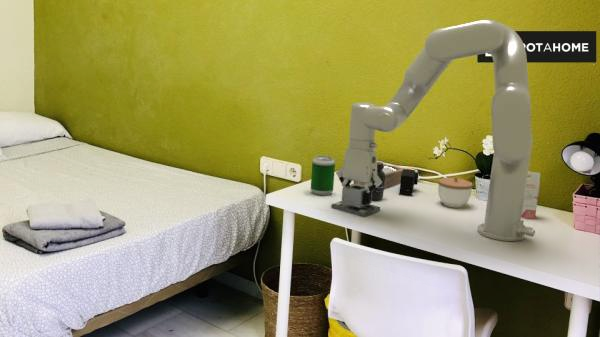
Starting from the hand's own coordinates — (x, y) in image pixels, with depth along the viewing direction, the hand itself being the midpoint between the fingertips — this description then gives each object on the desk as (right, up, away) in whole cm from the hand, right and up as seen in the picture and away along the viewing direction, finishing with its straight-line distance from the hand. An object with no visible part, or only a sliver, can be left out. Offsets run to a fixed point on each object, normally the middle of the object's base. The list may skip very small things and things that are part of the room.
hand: (356, 201), depth 185 cm
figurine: (+13, +4, +34) cm, 37 cm away
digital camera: (+20, +2, +24) cm, 32 cm away
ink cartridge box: (+52, -5, +5) cm, 52 cm away
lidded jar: (+33, -2, +12) cm, 35 cm away
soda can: (-10, +2, +17) cm, 20 cm away
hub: (0, -1, 0) cm, 1 cm away
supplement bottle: (+7, 0, +14) cm, 16 cm away
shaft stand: (0, -3, +1) cm, 3 cm away
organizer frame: (+11, +4, +33) cm, 35 cm away
